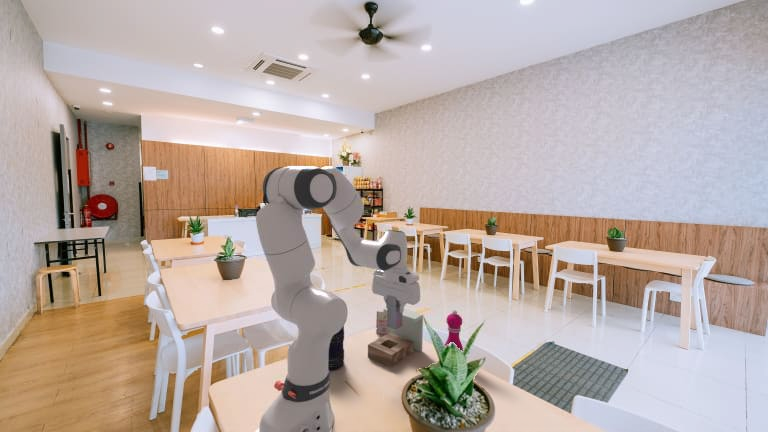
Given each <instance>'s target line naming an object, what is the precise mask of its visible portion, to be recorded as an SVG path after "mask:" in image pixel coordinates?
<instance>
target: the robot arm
mask: <svg viewBox="0 0 768 432" xmlns="http://www.w3.org/2000/svg"><path fill="white" fill-rule="evenodd" d="M262 193H263V194H262V195H263V196H262V202H263V204H264V206H262V207H261V208H260V209H259V210H258V211H257V214H256V216H255V222H256V228H257V235H258V236H259V242H260V245H261V248H262V250H263V254H264V257H265V259H266V262H267V264H268V267H269V270H270V271H271V276H272V278H273V282H274V283H273V284H274V290H273V293H272V295H271V300H270V302H271V308H272V310H273V311H274V312H275V313H276V314H277V315H278V316H280V317H281V318H282V319H283V320H284V321H286V322H289V323H292V324H294V326H296V327H297V329H298V331H297V332H298V334H297V339H296V340H294V341H293V342H291V343H290V345H289V347H288V348H287V353H286V354H287V374H286V377H285V379H284V381H283V382H284V383H283V382H282V381H281V380H276V381H275V382H274V384H273V387H274V388H275V389H276V390H277V391H279V392H280V391H281V392H280V393H279V395H278V396H277V397H276V398H275V399H274V401H273V402H272V403H271V404H270V405H269V407H267V409H266V410H265V411H264V413H263V414H262V415H261V418H260V422H259V427H258V428H257V429H256V430H255V431H254V432H333V425H334V423H335V416H334V413H333V409H332V404H331V398H330V385H331V376H330V375H331V374H330V372H331V371H329V369H328V357H329V345H330V342H331V339H332V337H333V335H334V334H336V333H338V332H339V331H340V330H341V329H342V327H343V326H344V327H345V324H346V321H347V320H348V313H349V312H348V310H349V309H348V304H346V303H347V302H346V301H345V300H344V299H342V298H341V297H340V296H338V295H337V294H335V293H333V292H332V291H330V290H329V291H328V290H325V289H322V288H319V287H316V286H315V285H314V284H313V282H312V280H311V273H312V272H314V269H315V266H316V259H315V257H314V254H313V252H312V248H311V245H310V242H309V239H308V236H307V234H306V230H305V228H304V225H303V211H304V210H309V211H310V210H319V209H323V211H324V212H325V214H326V215H327V216H328V218H329V222H330V225H331V228H332V229H333V231H334V233H335V234H336V236H337V237H338V239H339V240H340V243H341V244H342V245H343V247H344V249H345V252H346V253H345V254H346V256H347V259H348V261H349V262H350V263H351V265H353V266H356V267H363V268H368V269H373V270H374V271H373V278H372V284H371V285H372V286H371V291H372V293H373V294H374V295H377V296H381V297H383V300H384V303H385V308H387V295H390V296H393V297H396V300H398V301H400V304H401V306H400V307H398V312H400V313H402V312H403V311H404V309H405V306H406V304H409V305H412V306H415V305H417V304H419V303H420V301H421V287H420V284H419V282H418V281H419V280H420V276H419V275H418V274H417V273H416V272H414V271H412V270H411V269H410V268H408V263H407V256H408V239H407V234H406V233H405V232H404V231H402V230H396V229H395V230H394V229H386V230H384V234H383V236H382V237H381V238H379V239H378V240H371V239H366V238H363V237H361V236H360V235H359V234H358V233H357V231H356V229H355V227H354V226H355V225H356V224H357V223H358V222H359V221H360V219H361V218H362V216H363V213H364V210H365V205H364V202H363V199H362V197H361V196H360V194H359V193H358V191H357V190H356V189H355V187H354V186H353V184H352V183H351V181H350V180H349V179H348V178H347V177H346V175H344V173H342V172H341V171H340V169H338V168H337V167H335V166H331V165H330V166H327V165H326V166H323V167H318V166H313V165H312V166H311V165H310V166H309V165H308V166H304V165H289V166H281V167H277V168H274V169H272V170H270V171H269V172H268V173H266V175H265V176H264V179H263V181H262Z"/></svg>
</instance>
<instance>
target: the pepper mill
mask: <svg viewBox="0 0 768 432" xmlns="http://www.w3.org/2000/svg"><path fill="white" fill-rule="evenodd" d="M446 324H447V331H448V337H447V339H446V341H445V343H444V346H446V345H447V344H449V343H450V342H454V343H455V344H456V345H457V347H458V348H460V350H462V351H463V352H464V348H463V344H462V342H461V339H460V332H461V329H462V324H463V318H462V316H461V315H460V314H458V311H457V310H455V309H454V310H452V311H451V313H450V314H448V315H447V317H446Z"/></svg>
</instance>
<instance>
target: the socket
mask: <svg viewBox="0 0 768 432" xmlns="http://www.w3.org/2000/svg"><path fill="white" fill-rule="evenodd" d="M412 354H414V349H413V341H411V340H408V339H405V338H403V337H400V336H397V335H395V334H392V333H388V334H384V335H382V336H381V337H379V338H378V339H376V340H374V341H372V342H370V343H368V344H367V358H369V359H371V360H374V361H376V362H378V363H380V364H383V365H384V366H386V367H389V368H391V369H392V368H394V367H395V366H397V365H398V364H399V363H401V362H402V361H403V360H405V359H406V358H408V357H409V356H411V355H412Z"/></svg>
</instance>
